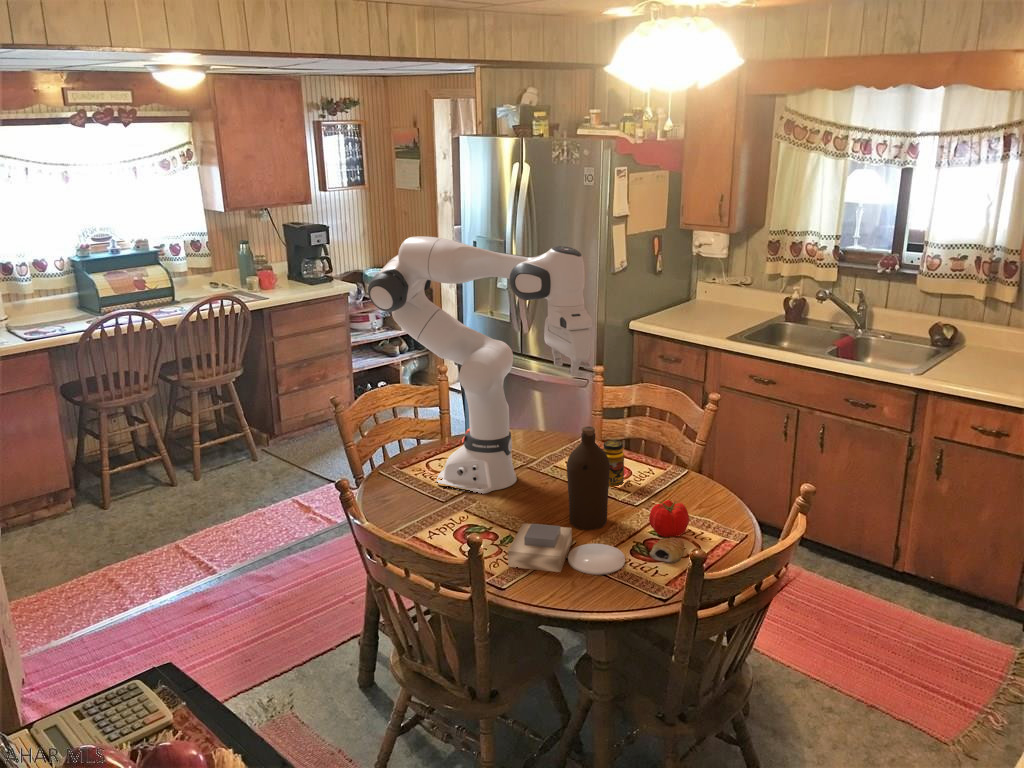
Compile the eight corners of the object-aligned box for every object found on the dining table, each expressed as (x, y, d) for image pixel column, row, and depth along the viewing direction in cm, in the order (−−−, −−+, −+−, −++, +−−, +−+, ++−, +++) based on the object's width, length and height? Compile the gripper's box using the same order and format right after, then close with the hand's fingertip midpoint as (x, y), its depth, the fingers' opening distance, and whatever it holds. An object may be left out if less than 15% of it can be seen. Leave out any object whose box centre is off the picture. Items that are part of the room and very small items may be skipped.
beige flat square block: (508, 566, 190) (508, 550, 189) (523, 538, 203) (522, 523, 202) (560, 572, 187) (560, 556, 186) (571, 543, 200) (571, 527, 199)
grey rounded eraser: (524, 544, 191) (524, 537, 191) (531, 531, 198) (531, 523, 197) (554, 547, 190) (554, 540, 189) (560, 533, 196) (560, 526, 196)
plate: (562, 571, 188) (562, 568, 187) (573, 544, 200) (573, 541, 199) (621, 577, 184) (621, 574, 184) (628, 549, 196) (628, 546, 196)
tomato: (691, 528, 206) (692, 500, 204) (683, 544, 198) (684, 515, 196) (654, 522, 210) (654, 494, 208) (644, 537, 202) (645, 509, 200)
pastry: (664, 542, 200) (665, 528, 199) (691, 549, 196) (692, 535, 195) (647, 559, 192) (648, 544, 191) (675, 567, 189) (675, 552, 188)
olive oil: (616, 527, 207) (617, 432, 200) (576, 534, 204) (575, 438, 197) (599, 509, 217) (599, 418, 210) (561, 516, 214) (560, 424, 207)
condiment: (618, 490, 228) (619, 449, 225) (590, 484, 233) (590, 444, 229) (629, 480, 234) (630, 440, 231) (602, 475, 238) (602, 435, 235)
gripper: (537, 308, 210) (538, 361, 214) (570, 324, 191) (570, 382, 195) (561, 305, 212) (561, 358, 216) (595, 322, 193) (595, 379, 197)
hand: (565, 370), depth 205 cm, fingers open, 8 cm apart
